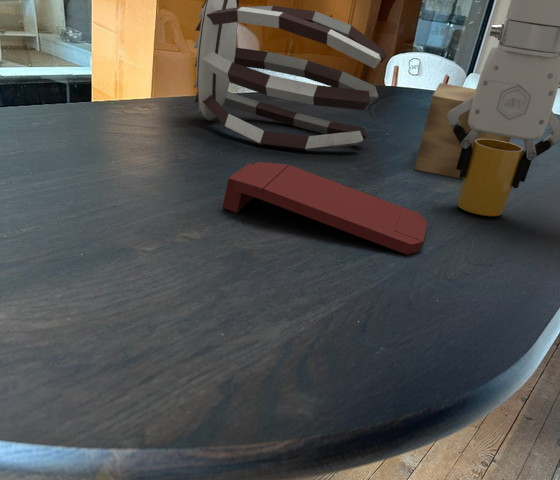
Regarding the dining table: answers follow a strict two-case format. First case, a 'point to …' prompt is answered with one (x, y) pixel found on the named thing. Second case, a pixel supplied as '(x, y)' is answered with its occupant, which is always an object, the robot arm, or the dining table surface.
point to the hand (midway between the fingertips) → (488, 179)
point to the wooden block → (445, 132)
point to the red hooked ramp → (327, 204)
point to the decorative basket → (234, 69)
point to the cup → (489, 177)
